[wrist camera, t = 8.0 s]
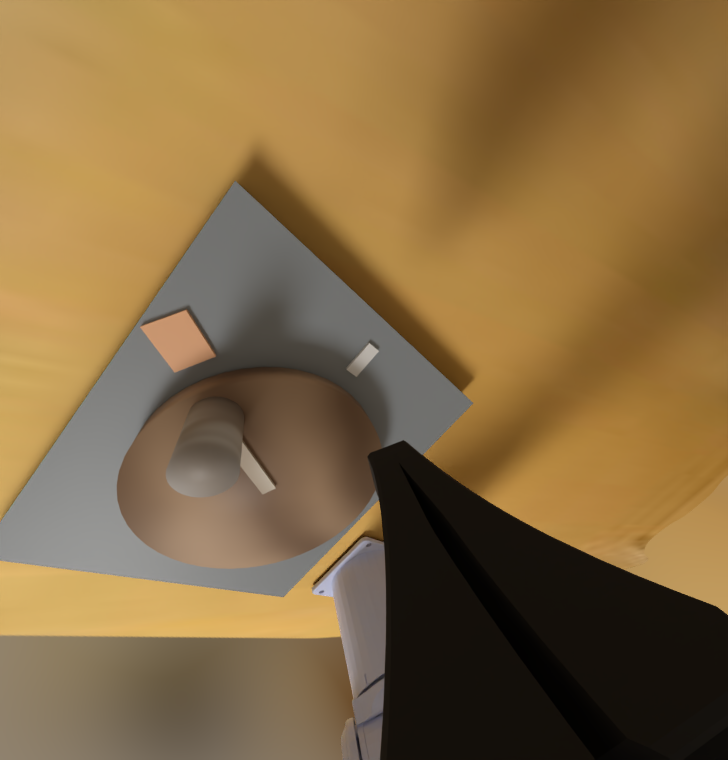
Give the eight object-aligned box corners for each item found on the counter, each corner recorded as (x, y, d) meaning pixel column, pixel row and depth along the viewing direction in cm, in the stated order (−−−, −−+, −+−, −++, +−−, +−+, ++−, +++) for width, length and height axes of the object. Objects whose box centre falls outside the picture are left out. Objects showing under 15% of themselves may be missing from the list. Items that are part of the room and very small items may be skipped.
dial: (335, 326, 15) (366, 366, 11) (394, 488, 22) (426, 551, 18) (54, 438, 13) (-46, 540, 9) (219, 574, 20) (208, 666, 16)
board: (461, 393, 22) (475, 404, 21) (282, 579, 26) (283, 599, 24) (237, 185, 12) (234, 179, 11) (-2, 531, 16) (-28, 561, 15)
